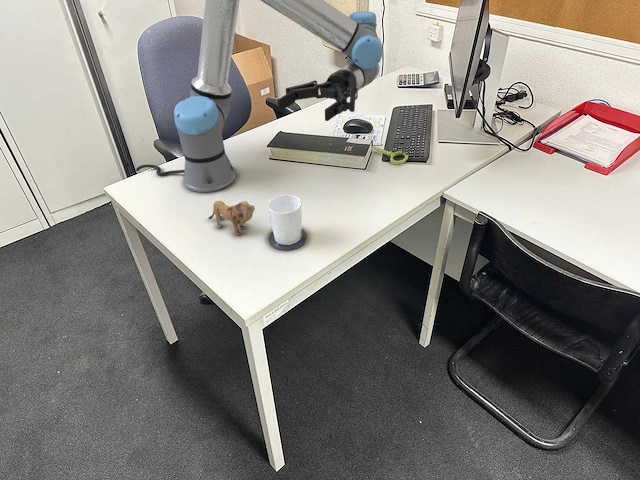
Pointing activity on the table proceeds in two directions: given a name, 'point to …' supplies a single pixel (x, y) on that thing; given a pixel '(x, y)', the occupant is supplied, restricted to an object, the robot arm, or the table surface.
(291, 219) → the white cup
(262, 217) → the table surface
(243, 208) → the lion figurine
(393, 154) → the key
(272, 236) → the slate coaster
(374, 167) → the table surface
